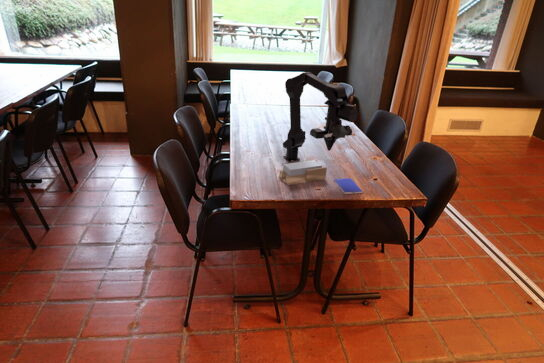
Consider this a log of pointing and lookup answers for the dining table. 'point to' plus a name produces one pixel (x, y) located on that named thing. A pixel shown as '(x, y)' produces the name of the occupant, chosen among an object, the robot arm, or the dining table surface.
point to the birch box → (304, 176)
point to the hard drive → (347, 186)
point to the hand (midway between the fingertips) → (328, 150)
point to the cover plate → (300, 167)
